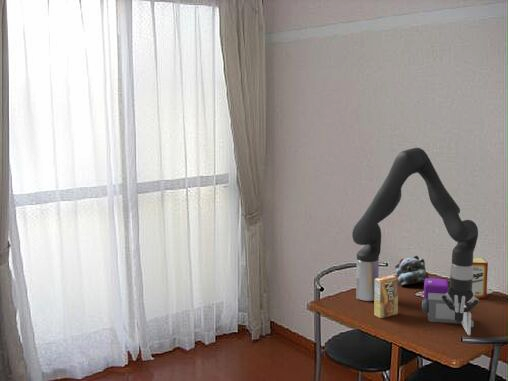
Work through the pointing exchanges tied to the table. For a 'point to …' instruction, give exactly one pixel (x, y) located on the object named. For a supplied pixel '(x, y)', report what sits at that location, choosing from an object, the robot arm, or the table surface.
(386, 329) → the table surface
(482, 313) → the table surface
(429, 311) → the camera housing
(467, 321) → the side door
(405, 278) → the lucky cat figurine
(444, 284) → the toy camera
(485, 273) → the baking soda box
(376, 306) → the candy box
